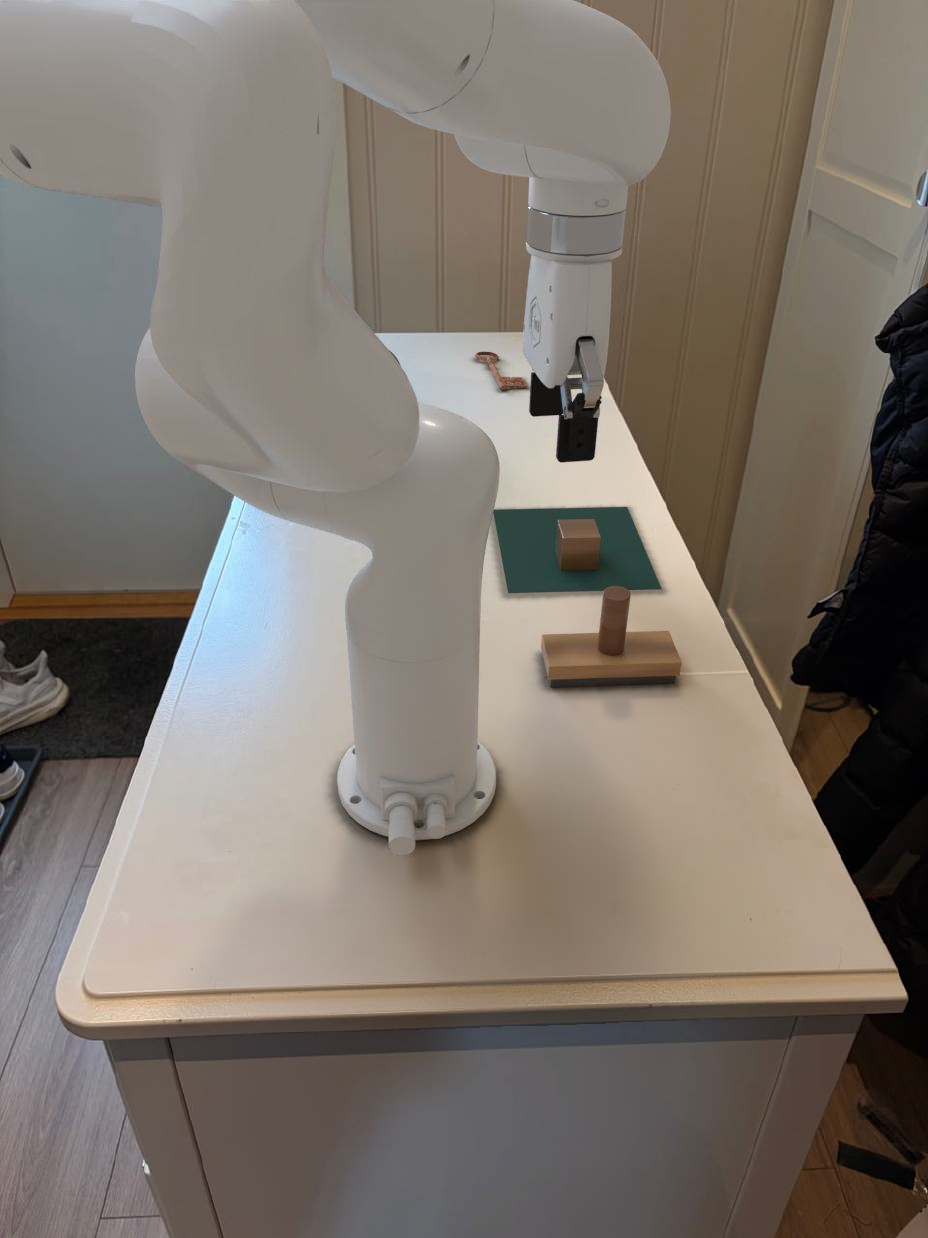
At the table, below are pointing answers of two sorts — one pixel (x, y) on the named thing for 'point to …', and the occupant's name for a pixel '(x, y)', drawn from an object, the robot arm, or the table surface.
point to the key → (499, 379)
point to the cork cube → (577, 544)
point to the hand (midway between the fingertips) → (560, 436)
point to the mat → (536, 564)
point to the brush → (611, 651)
